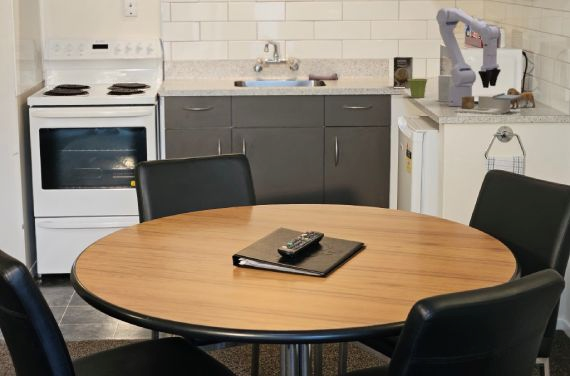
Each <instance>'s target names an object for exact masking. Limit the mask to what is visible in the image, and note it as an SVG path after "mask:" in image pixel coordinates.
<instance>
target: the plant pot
mask: <svg viewBox="0 0 570 376" xmlns="http://www.w3.org/2000/svg"><path fill="white" fill-rule="evenodd" d="M408 81H409V84H410V96H411V98H413V99H416V98H417V99H422V98H425V93H426V87H427V83H428V78H412V79H408Z"/></svg>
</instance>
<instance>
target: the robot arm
mask: <svg viewBox="0 0 570 376" xmlns="http://www.w3.org/2000/svg"><path fill="white" fill-rule="evenodd" d="M435 19H436V21H437V24H438V30H439V33H440V37H441V38H442V41H443V44H444V47H445V49H446V52H447V54H448V57H449V59H450V62H451V65H452V69H451V70H450V75H452V82H453V83H454V86H451V88H450V92H449V102H448V103H449V104H448V106H449V107H460V108H462V97H464V96H473V86H474V83H475V82H476V80H477V75H476V72H475V71H474V70H473V68H472V66H471V65H470V64H468V63H466V61H465V58H464V56H463V53H462V50H461V48H460V45H459V42H458V39H457V38H456V35H455V33H454V29H455V28H456V27H457V25H458V24H459V22H460V23H463V24H465V25H466V26H468V27H469V28H470V31H472V32H473V33H475V34H477V35H479V36H480V37H481V41H482V43H481V44H483V47H482V66H480V70H478V75H479V77H480V80H481V84H482V87H483V88H484V89H488V88H489V87H496V84H497V80H498V77H499V75H500V73H501V71H502V69H501V68H499V67H500V65H499V63H497V57H498V56H497V55H498V39H499V38H500V35H501V30H500V28H499V27H498V26H497V25H491V24H490V23H489V22H488V23H487V22H485V21H483V18H479V17H478V18H473V17H472V16H470V15H468V13H465V12H464V11H463V9H460V8H459V7H450V8H447V7H444V8H443V7H441V8H440V9H438V11H437V13H436V16H435ZM474 106H476V103H474Z"/></svg>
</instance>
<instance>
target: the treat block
mask: <svg viewBox="0 0 570 376" xmlns="http://www.w3.org/2000/svg"><path fill="white" fill-rule="evenodd" d="M474 104H475V96H474V95H472V96H464V97H462V107H461V108H462V109H473V108H474V107H475V105H474Z"/></svg>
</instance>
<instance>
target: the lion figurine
mask: <svg viewBox="0 0 570 376" xmlns="http://www.w3.org/2000/svg"><path fill="white" fill-rule="evenodd" d="M506 95H521V98H517V99H514V100H511V104H512V106H510V109H514V108H515V109H517V110H518V109H519V105H520V102H525V104H524V105H523V106H522V107H523V108H526V107H527V106H528V105H529V102H530V103H532V105H531V108H536V102H535V98H534V95H533V93H532V92H530V91H525V92H519V91H518V90H517V89H516V88H515V87H510V88H508V90H507V93H506ZM515 103H516V106H515Z"/></svg>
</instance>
